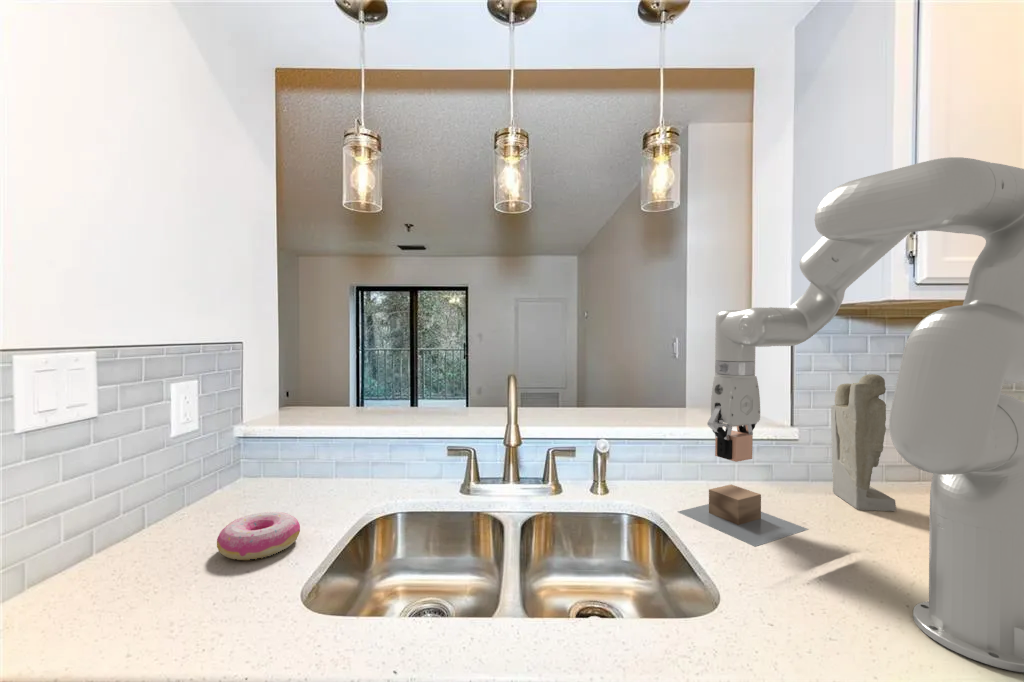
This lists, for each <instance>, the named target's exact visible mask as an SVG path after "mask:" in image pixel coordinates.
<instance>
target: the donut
mask: <svg viewBox="0 0 1024 682" xmlns="http://www.w3.org/2000/svg"><path fill="white" fill-rule="evenodd" d="M300 532H301V526H300V522H299V520H298V519H297V518H296V517H295V516H294V515H292V514H290V513H289V514H288V513H285V512H279V511H267V512H258V513H252V514H250V515H249V514H248V515H245V516H241V517H239V518H237V519H236V518H235V520H233V521H231V522H229V523H228V524H227V525H226V526H224V527H223V528H222V530H221V531H220V532H219V534H218V536H217V538H216V547H217V550H218V551H219V553H220V554H221V555H222V556H224V557H226V558H228V559H231V560H235V559H237V560H236V561H251V560H250V559H255V560H258V559H257V558H261V559H263V558H262V557H265V558H267V557H266V556H269V557H271V556H270V555H272V556H274V555H277V554H279V553H281V552H283V551H285V550H286V549H288V548H290V546H292V545H293V544H294V543H295V542H296V540H298V537H299V535H300ZM284 549H285V550H284ZM282 550H283V551H282ZM280 551H281V552H280ZM278 552H279V553H278ZM276 553H277V554H276ZM273 554H274V555H273Z"/></svg>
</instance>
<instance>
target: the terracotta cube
mask: <svg viewBox="0 0 1024 682" xmlns="http://www.w3.org/2000/svg"><path fill="white" fill-rule="evenodd" d="M753 437H754V435H751V434H747V433H742V432H738V431H737V430H733V429H732V431H731V436H730V440H732V459H730V460H729V459H727V460H729V461H732V462H735V463H739V462H743V461H748V460H752V459H753V441H754V440H753V439H754V438H753ZM714 440H715V443H714V445H715V446H714V453H715V454H714V456H715V457H716V458H717V457H718V456H717V438H716V437H714ZM718 458H719V457H718ZM721 458H722V457H720V459H721ZM722 459H725V458H722ZM725 460H726V459H725Z"/></svg>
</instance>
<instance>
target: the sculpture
mask: <svg viewBox="0 0 1024 682" xmlns="http://www.w3.org/2000/svg"><path fill="white" fill-rule="evenodd" d="M886 391H887V389H886V381H885V378H884V377H882V376H881V375H880V374H875V373H871V374H865V375H863V376H861V377H860V379H859V381H858V382H852V383H841V384H840V385H838V386H837V387H836V390H835V393H834V394H835V395H834V405H831V406H830V423H831V424H830V427H831V430H830V431H831V469H832V470H831V472H832V493H833V494H834V495H835V496H837V497H839V499H841V500H843V501H845V502H846V503H847V504H848V505H850V506H852V507H853V508H855V509H857V510H864V511H883V512H884V511H885V512H896V511H897V505H896V504H897V503H896V499H895V498H893V497H890V496H889V495H887V494H885V493H884V492H882V491H880V490H878V489H876V488H875V487H873V486H871V481H872V474H873V468H877V467H878V466H879V462H880V457H881V455H882V453H883V451H884V442H885V435H886V432H887V427H886V421H887V404H886V402H885V401H884V400H883V399H881V398H880V396H882V395H884V394H885V393H886Z"/></svg>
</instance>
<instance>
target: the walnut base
mask: <svg viewBox="0 0 1024 682" xmlns="http://www.w3.org/2000/svg"><path fill="white" fill-rule="evenodd" d="M708 504H709V513H711V514H713V515H715V516H718V517H720V518H723V519H725V520H727V521H730V522H732V523H735V524H737V525H740V524H744V523H747V522H751V521H754V520H758V519H761V512H762V494H761V493H758V492H755V491H752V490H749V489H746V488H743V487H740V486H737V485H734V484H728V485H723V486H718V487H713V488H709V489H708Z"/></svg>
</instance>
